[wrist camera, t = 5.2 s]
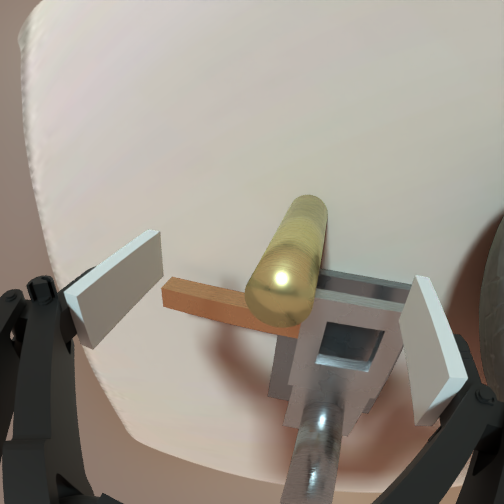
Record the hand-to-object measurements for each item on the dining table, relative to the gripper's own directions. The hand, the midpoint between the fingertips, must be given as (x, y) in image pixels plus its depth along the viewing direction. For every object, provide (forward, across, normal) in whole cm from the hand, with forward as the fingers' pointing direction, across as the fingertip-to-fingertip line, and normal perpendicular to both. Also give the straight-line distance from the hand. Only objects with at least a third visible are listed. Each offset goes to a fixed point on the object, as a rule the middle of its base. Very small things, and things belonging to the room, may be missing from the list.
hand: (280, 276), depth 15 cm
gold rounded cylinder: (+10, 0, 0) cm, 10 cm away
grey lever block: (+10, 0, -13) cm, 16 cm away
